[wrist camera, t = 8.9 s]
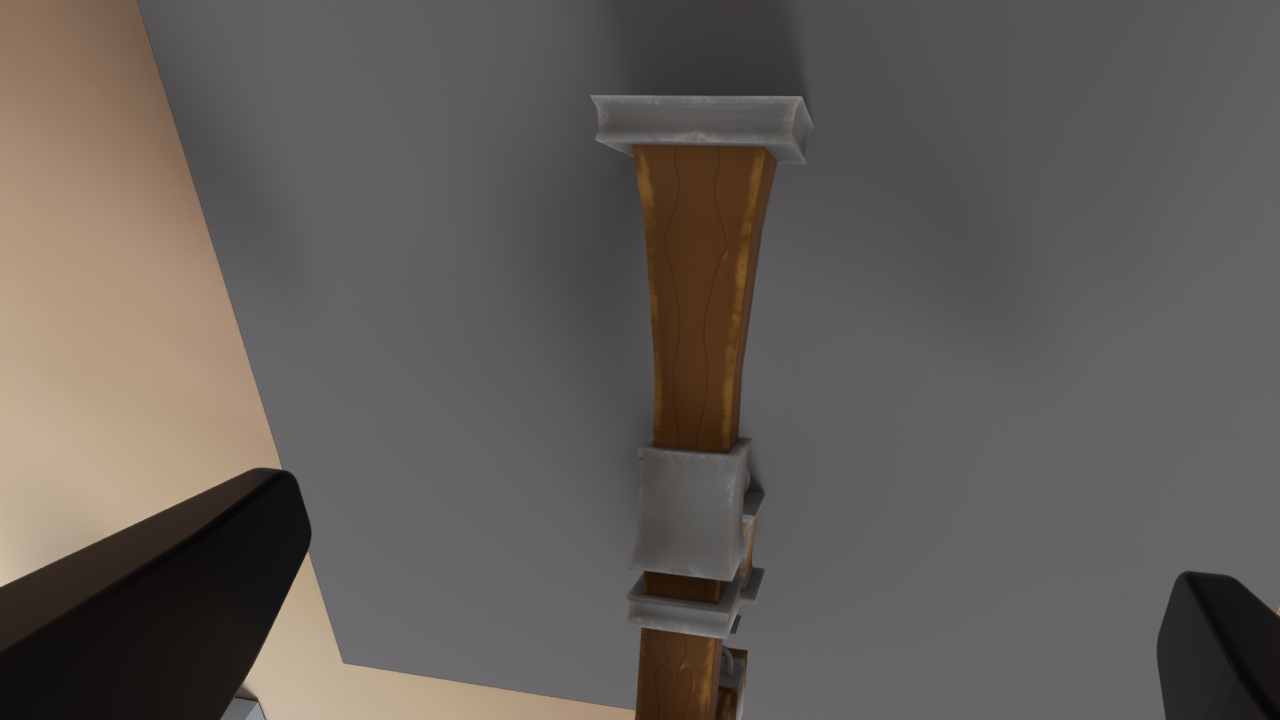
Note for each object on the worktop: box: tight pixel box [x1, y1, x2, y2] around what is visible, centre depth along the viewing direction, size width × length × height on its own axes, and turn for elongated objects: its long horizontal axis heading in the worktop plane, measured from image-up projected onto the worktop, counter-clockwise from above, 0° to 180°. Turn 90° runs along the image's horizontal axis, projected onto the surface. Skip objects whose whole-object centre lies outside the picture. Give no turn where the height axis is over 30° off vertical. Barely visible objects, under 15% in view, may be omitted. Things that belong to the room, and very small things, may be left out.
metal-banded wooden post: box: [590, 95, 814, 720], centre depth 10 cm, size 2×8×4 cm, turn 3°
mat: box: [137, 0, 1280, 720], centre depth 11 cm, size 13×11×1 cm
